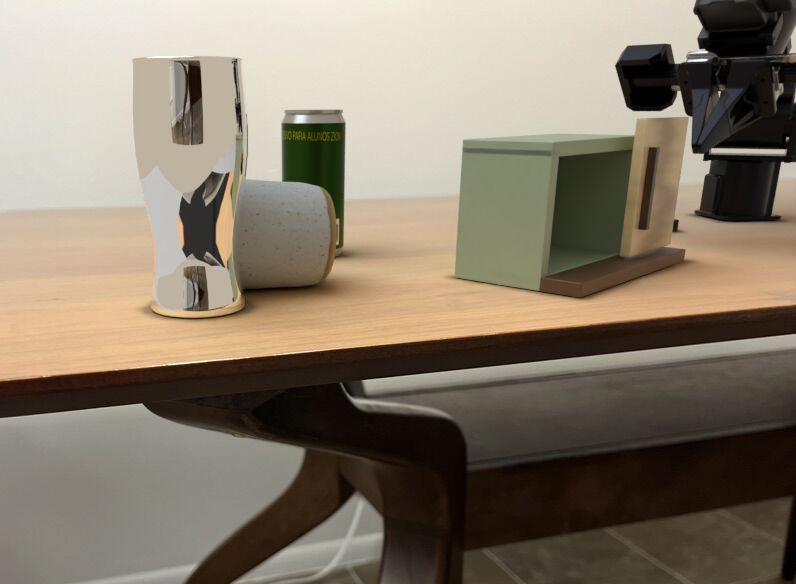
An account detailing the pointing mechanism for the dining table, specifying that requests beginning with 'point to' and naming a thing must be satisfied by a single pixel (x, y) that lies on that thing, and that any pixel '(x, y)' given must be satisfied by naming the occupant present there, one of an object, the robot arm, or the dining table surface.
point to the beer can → (317, 155)
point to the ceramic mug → (285, 234)
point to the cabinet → (549, 214)
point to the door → (653, 184)
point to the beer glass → (192, 178)
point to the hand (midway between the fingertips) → (696, 150)
